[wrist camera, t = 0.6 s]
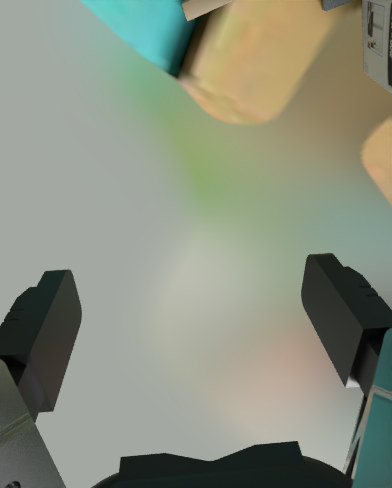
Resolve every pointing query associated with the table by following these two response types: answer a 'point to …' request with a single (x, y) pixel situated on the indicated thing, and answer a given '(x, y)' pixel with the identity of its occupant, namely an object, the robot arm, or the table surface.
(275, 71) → the table surface
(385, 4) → the light bulb box
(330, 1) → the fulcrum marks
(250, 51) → the table surface
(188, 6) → the wooden frame
